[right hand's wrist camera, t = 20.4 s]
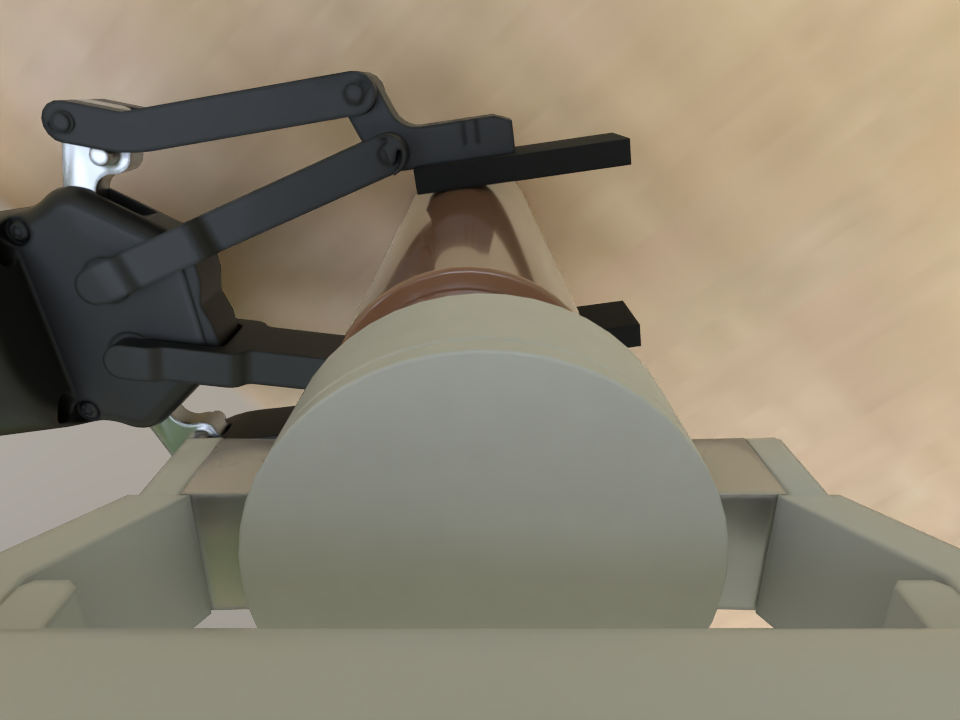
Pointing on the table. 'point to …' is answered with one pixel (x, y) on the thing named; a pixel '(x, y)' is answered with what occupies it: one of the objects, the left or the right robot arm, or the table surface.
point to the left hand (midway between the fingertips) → (625, 239)
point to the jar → (464, 253)
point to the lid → (483, 483)
